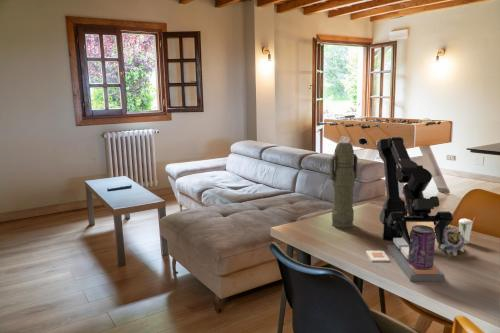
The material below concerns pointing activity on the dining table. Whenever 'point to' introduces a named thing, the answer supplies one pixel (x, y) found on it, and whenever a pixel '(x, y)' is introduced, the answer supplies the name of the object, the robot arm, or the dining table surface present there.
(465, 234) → the milkshake
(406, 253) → the off-white key
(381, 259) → the card
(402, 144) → the robot arm
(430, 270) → the terracotta key
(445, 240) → the passion flower
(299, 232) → the dining table surface
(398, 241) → the grey-blue key
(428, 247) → the beverage can
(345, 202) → the thermos
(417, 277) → the keypad board
